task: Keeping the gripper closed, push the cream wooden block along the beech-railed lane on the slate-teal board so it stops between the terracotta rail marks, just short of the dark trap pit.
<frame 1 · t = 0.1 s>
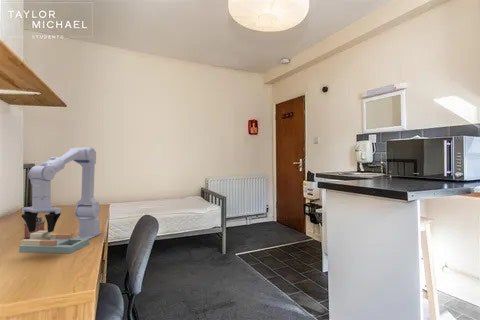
hand: (41, 231, 104), 10 cm above the table, fingers open, 7 cm apart
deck: (55, 247, 115), on the table
block: (40, 241, 115), point 2 cm above the table, touching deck
lighter: (34, 237, 129), on the table
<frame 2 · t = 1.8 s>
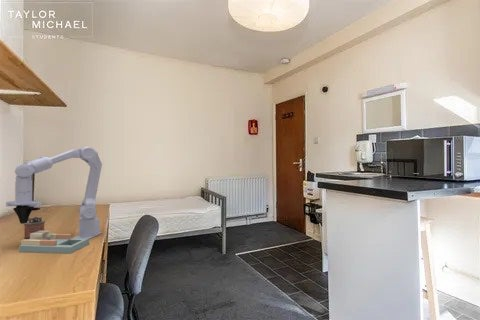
hand: (23, 223, 115), 10 cm above the table, fingers closed
nothing on the table moved.
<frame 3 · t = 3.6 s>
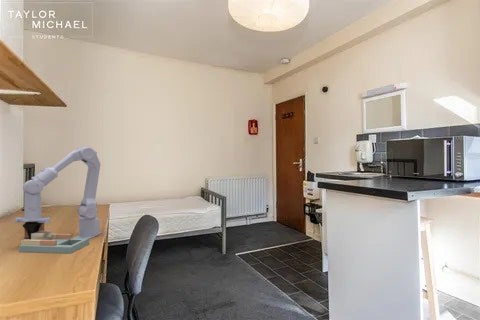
hand: (32, 239, 115), 3 cm above the table, fingers closed
block: (41, 241, 115), point 3 cm above the table, touching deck, gripper
everything else where it was.
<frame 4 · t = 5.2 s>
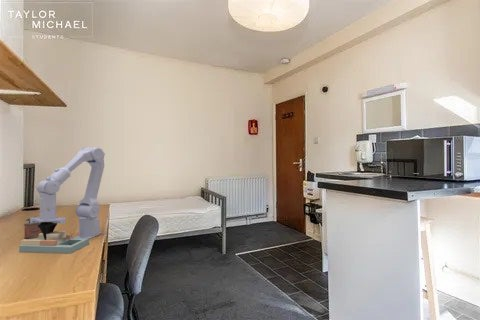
hand: (47, 239, 115), 3 cm above the table, fingers closed
block: (56, 242, 114), point 2 cm above the table, touching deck, gripper
everything else where it was.
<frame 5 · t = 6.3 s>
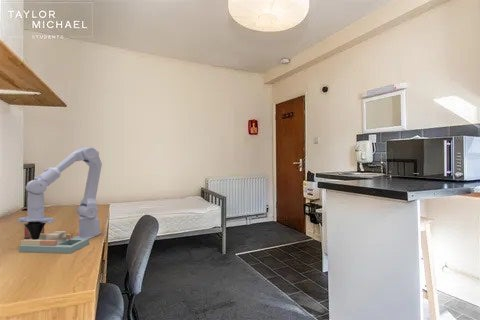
hand: (35, 239, 115), 3 cm above the table, fingers closed
block: (56, 242, 114), point 2 cm above the table, touching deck
everything else where it was.
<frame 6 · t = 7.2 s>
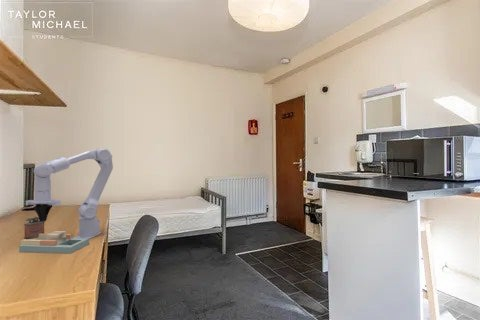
hand: (43, 221, 119), 10 cm above the table, fingers closed
nothing on the table moved.
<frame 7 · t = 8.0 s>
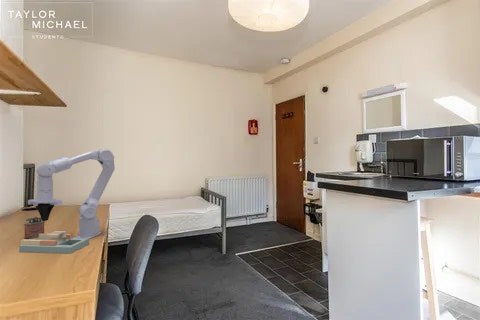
hand: (45, 220, 120), 10 cm above the table, fingers closed
nothing on the table moved.
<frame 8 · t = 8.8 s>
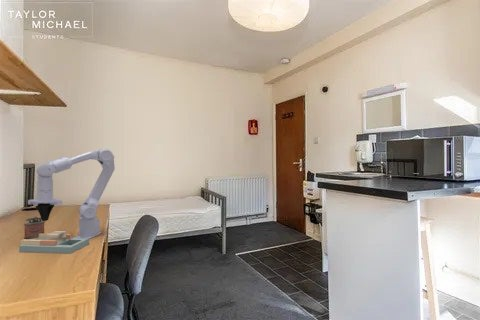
hand: (45, 220, 120), 10 cm above the table, fingers closed
nothing on the table moved.
at the end: block 0.5 cm from the target spot, point 2.5 cm above the table; block tilted 0° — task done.
